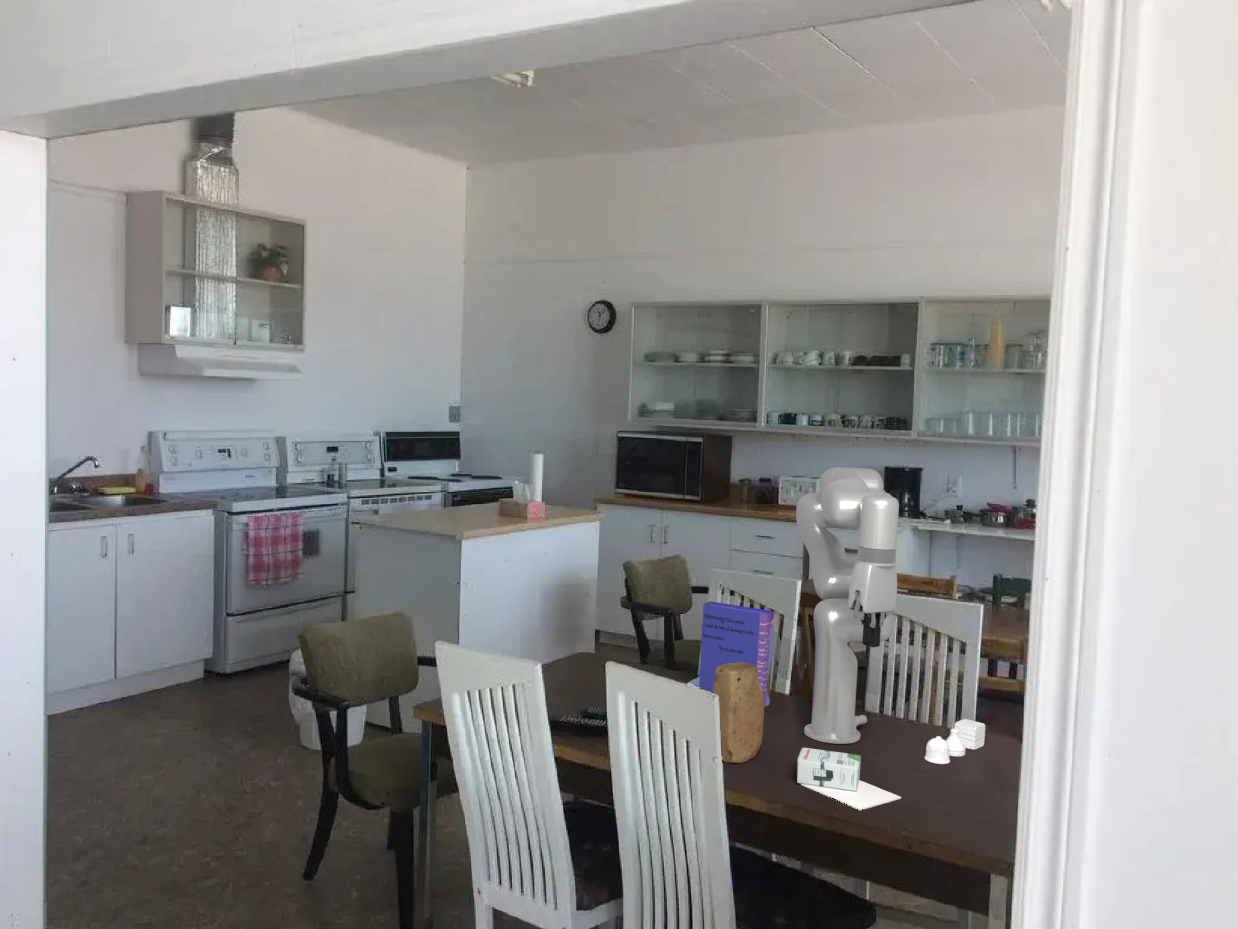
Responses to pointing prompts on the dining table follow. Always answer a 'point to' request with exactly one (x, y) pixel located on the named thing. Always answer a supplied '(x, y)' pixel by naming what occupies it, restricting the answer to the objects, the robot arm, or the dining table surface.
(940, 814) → the dining table surface
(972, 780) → the dining table surface
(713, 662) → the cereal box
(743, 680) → the block
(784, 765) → the dining table surface
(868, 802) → the mat
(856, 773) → the ink box
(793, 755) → the dining table surface
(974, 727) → the container set
